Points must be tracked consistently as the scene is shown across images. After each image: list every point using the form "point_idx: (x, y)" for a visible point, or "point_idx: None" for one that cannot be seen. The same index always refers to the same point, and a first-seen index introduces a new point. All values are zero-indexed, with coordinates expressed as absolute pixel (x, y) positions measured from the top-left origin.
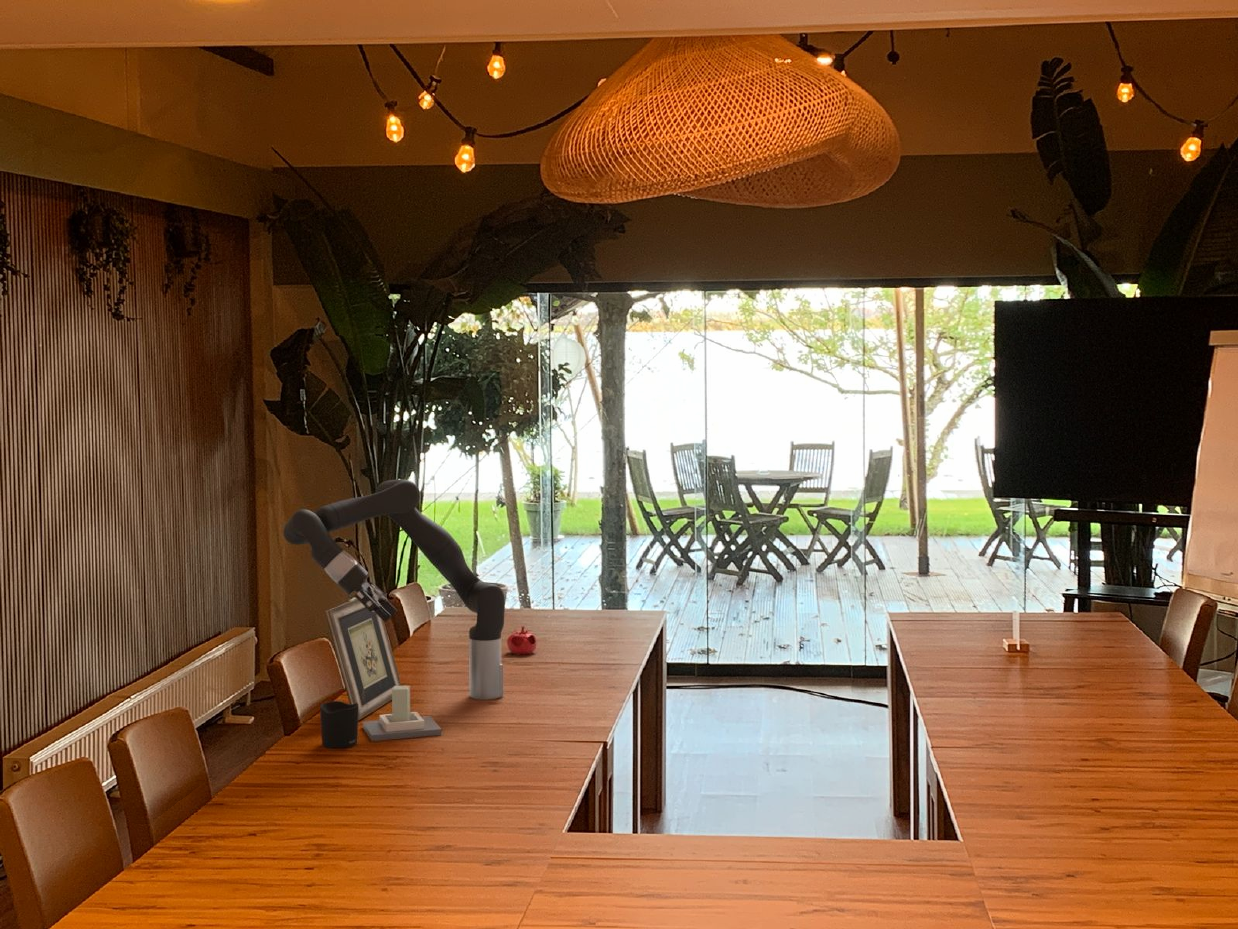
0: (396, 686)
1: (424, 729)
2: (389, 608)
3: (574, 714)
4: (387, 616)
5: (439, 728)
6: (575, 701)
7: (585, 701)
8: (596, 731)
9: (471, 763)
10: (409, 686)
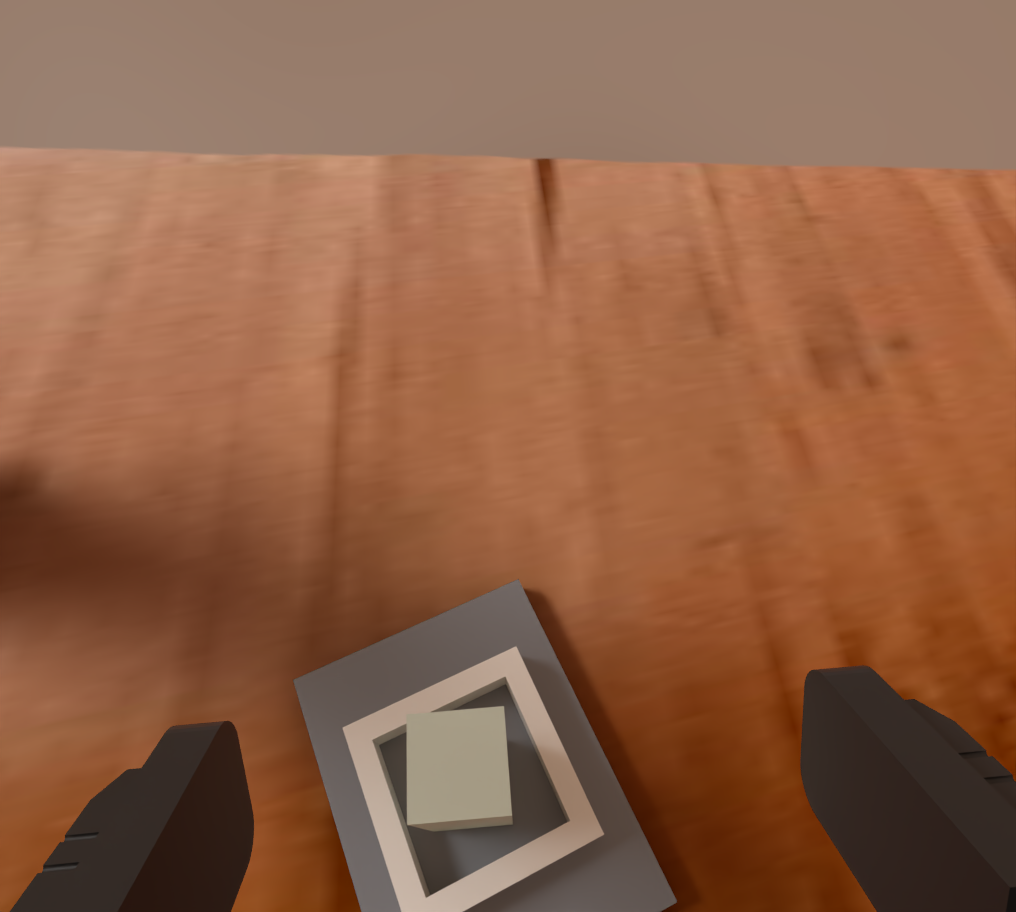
0: (426, 805)
1: (533, 650)
2: (188, 878)
3: (239, 229)
4: (926, 712)
5: (511, 588)
6: (67, 241)
7: (74, 218)
8: (439, 169)
9: (854, 417)
10: (423, 713)
